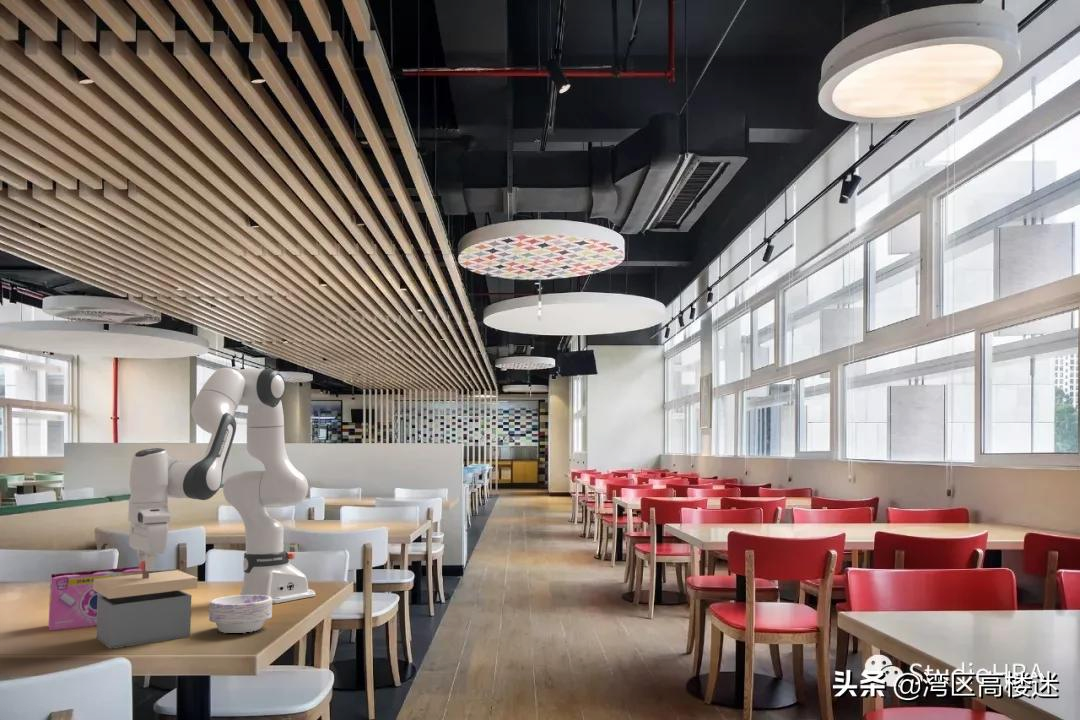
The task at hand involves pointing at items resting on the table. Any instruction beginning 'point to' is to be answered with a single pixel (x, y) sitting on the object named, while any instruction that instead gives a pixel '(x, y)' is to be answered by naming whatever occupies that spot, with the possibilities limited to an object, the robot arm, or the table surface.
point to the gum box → (78, 597)
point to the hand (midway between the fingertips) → (146, 569)
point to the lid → (144, 583)
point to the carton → (143, 618)
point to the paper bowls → (240, 612)
